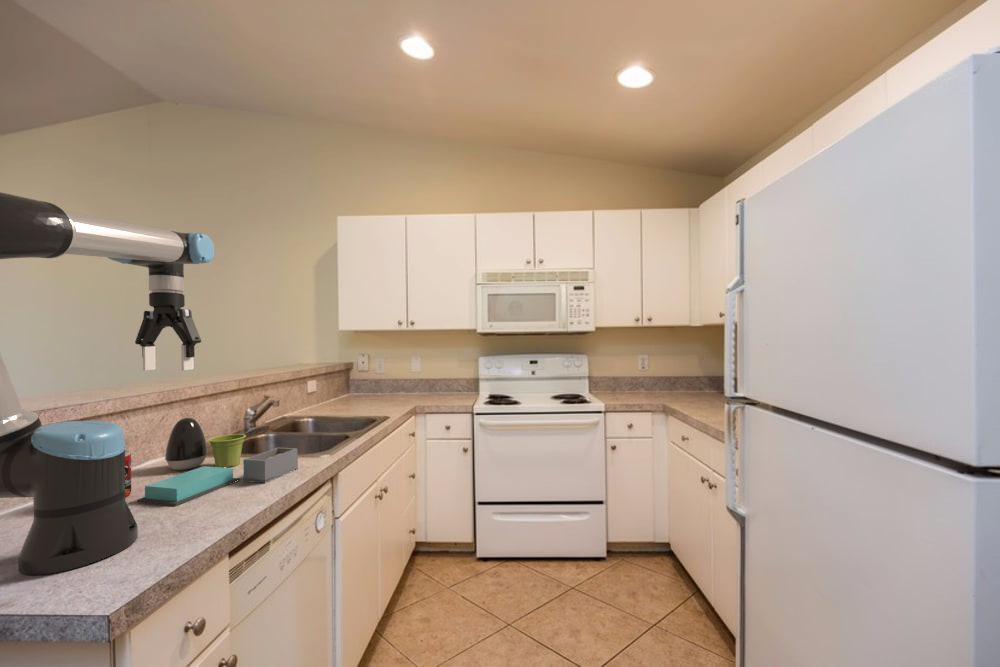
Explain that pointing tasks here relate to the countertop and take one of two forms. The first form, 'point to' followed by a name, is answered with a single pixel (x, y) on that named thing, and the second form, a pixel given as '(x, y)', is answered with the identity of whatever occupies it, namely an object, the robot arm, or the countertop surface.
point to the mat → (174, 503)
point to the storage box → (270, 464)
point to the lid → (188, 483)
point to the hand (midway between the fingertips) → (168, 370)
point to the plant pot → (227, 449)
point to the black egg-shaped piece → (186, 445)
